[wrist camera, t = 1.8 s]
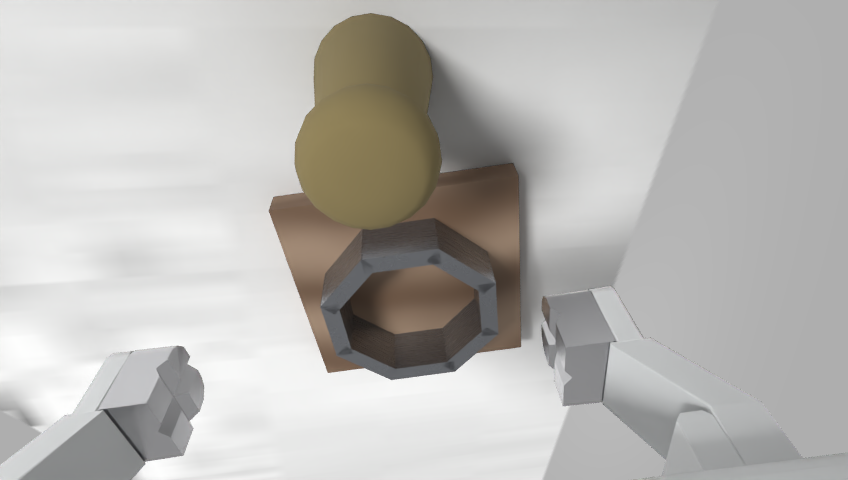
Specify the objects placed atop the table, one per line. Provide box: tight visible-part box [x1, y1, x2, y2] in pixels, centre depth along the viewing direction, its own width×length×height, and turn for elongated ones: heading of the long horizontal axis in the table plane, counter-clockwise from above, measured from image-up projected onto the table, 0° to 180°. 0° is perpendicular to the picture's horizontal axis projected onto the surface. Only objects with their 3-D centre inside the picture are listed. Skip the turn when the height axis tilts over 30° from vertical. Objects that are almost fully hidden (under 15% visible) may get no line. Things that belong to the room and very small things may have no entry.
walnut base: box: [269, 163, 521, 373], centre depth 32 cm, size 14×14×2 cm
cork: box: [295, 13, 442, 230], centre depth 21 cm, size 6×6×11 cm
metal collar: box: [320, 218, 499, 380], centre depth 31 cm, size 10×10×3 cm
